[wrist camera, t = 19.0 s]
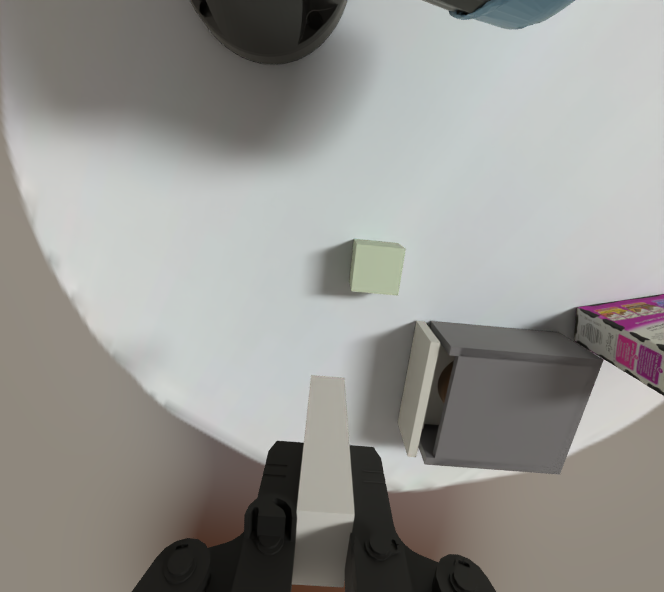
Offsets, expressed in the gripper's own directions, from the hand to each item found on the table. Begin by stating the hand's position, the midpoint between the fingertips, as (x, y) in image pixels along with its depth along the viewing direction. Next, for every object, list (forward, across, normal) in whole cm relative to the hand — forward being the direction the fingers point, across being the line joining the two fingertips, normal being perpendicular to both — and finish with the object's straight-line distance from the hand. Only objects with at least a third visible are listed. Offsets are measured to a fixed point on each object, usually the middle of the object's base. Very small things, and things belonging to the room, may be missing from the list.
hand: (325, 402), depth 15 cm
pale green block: (+24, +5, +2) cm, 25 cm away
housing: (+24, +21, -12) cm, 34 cm away
